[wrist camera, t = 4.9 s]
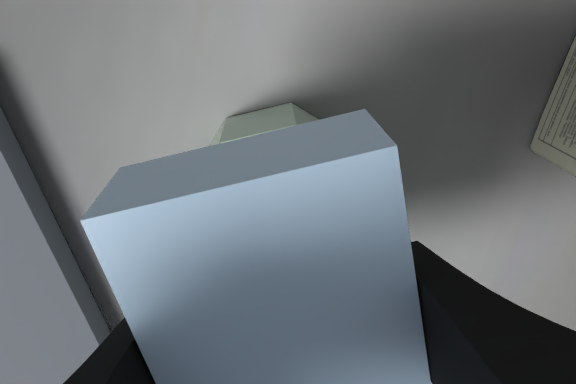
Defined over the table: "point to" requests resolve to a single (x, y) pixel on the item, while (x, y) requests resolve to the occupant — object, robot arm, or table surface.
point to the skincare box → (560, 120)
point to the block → (267, 259)
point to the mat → (38, 283)
